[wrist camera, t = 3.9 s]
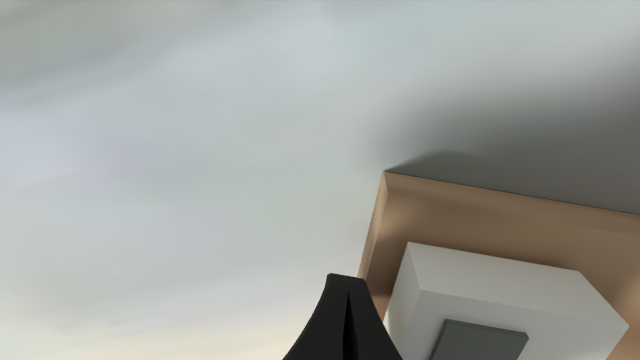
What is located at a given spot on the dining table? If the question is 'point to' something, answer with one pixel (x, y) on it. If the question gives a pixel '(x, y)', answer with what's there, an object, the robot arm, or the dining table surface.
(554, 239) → the board
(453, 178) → the dining table surface
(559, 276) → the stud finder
